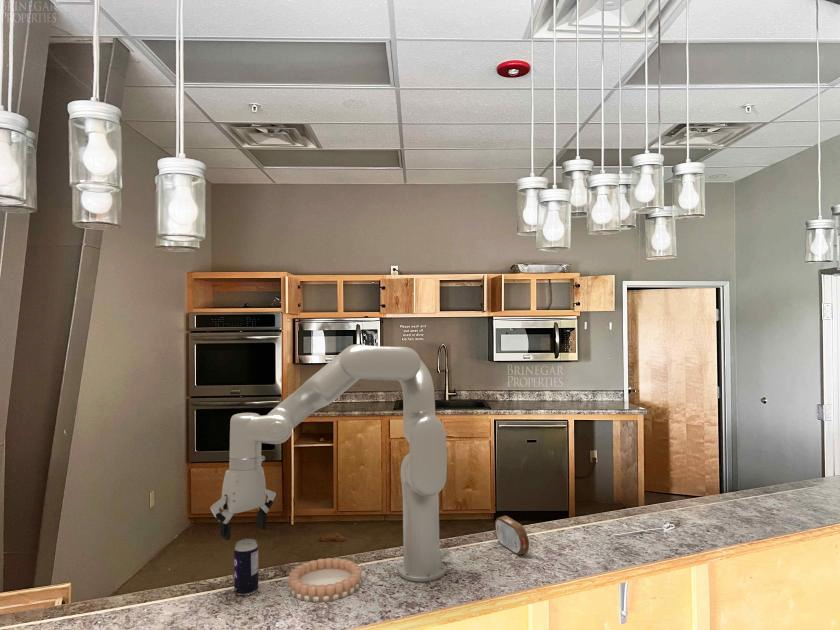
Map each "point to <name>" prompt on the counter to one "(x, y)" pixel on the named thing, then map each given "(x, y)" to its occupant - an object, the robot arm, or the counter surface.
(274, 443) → the robot arm
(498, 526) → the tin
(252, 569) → the beverage can
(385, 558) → the counter surface
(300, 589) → the round dish
